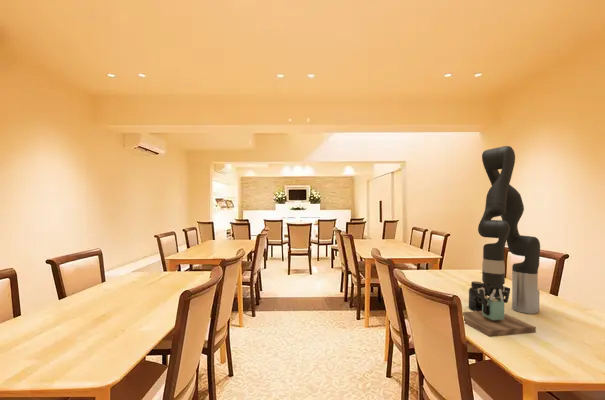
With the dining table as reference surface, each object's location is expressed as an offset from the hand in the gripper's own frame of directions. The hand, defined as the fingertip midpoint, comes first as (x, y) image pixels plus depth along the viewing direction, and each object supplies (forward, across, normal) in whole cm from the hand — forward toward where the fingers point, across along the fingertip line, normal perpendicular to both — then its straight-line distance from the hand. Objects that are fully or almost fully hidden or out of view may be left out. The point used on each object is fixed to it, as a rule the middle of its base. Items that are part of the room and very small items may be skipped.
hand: (492, 313), depth 120 cm
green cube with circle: (+1, 0, 0) cm, 1 cm away
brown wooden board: (+4, 0, 0) cm, 4 cm away
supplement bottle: (+4, -7, -16) cm, 18 cm away
